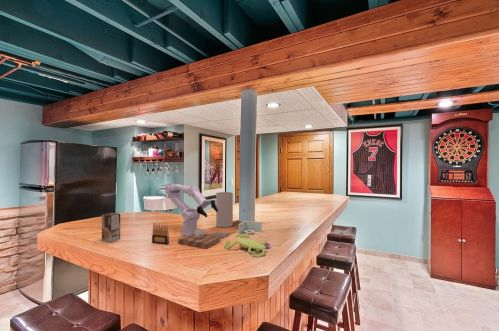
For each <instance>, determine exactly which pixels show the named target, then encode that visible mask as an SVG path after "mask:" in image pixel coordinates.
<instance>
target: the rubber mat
mask: <svg viewBox="0 0 499 331" xmlns="http://www.w3.org/2000/svg"><path fill="white" fill-rule="evenodd" d="M210 235H211V236H217V237H220V240H221V239H223V238H226V237H227V236H230V233H227V232H219V231H216V232H213V233H211V234H210Z"/></svg>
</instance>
